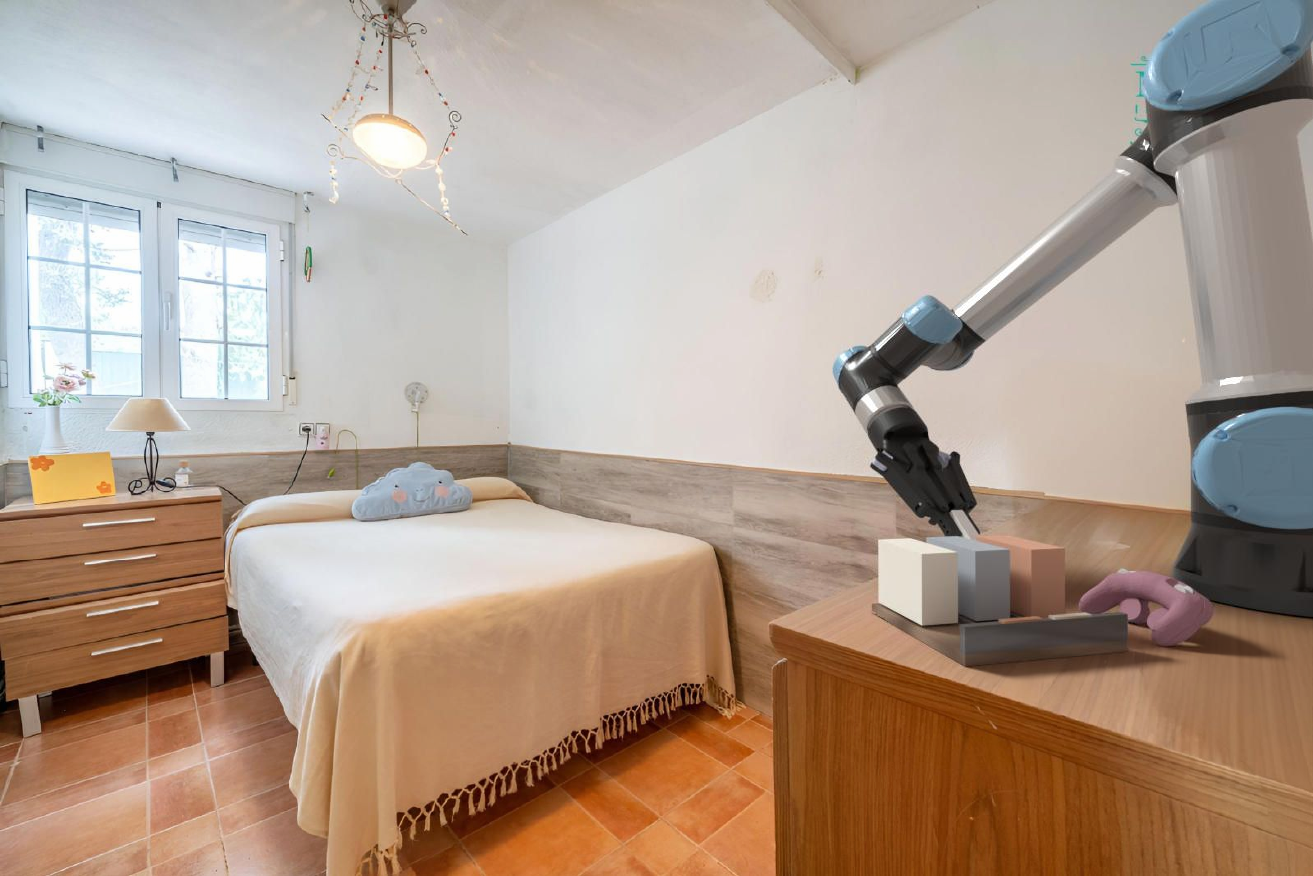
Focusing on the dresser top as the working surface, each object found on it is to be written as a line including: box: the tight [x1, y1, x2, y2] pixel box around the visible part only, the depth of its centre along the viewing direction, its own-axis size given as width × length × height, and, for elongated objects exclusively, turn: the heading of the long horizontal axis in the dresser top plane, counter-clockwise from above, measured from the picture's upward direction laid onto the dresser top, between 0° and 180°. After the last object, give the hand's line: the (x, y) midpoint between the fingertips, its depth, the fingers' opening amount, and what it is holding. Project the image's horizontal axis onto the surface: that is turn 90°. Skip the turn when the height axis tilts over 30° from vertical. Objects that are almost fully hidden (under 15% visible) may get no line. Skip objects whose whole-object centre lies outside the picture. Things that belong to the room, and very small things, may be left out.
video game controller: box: [1078, 568, 1215, 647], centre depth 52 cm, size 10×5×7 cm, turn 179°
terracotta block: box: [976, 534, 1066, 618], centre depth 55 cm, size 7×4×7 cm, turn 10°
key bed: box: [871, 602, 1129, 667], centre depth 51 cm, size 14×17×4 cm
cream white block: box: [877, 537, 958, 626], centre depth 53 cm, size 7×4×7 cm, turn 10°
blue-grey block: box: [925, 536, 1010, 621], centre depth 54 cm, size 7×4×7 cm, turn 10°
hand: (980, 561), depth 59 cm, fingers closed
